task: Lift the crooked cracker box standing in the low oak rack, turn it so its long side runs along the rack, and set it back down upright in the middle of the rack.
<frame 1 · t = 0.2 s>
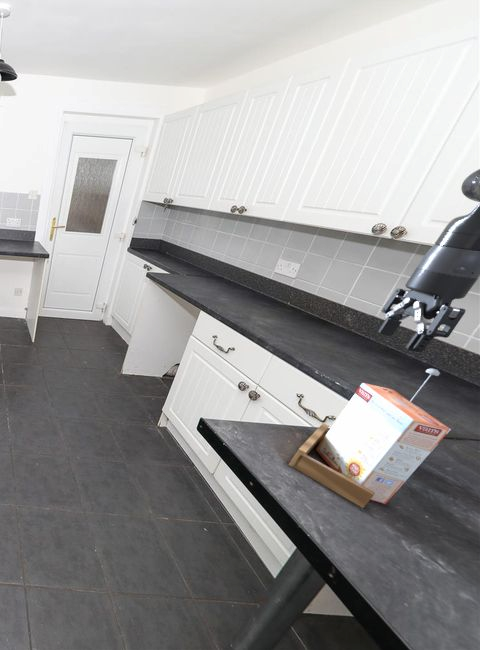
hand: (397, 342, 72), 31 cm above the table, tool pointing down, fingers open, 8 cm apart
french press: (366, 449, 86), on the table
cracker box: (347, 475, 76), on the table
rack: (347, 475, 76), on the table
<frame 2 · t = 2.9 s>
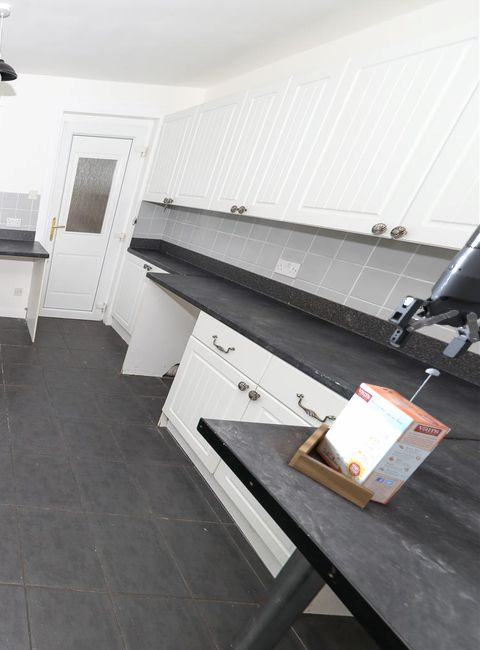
hand: (422, 351, 67), 32 cm above the table, tool pointing down, fingers open, 8 cm apart
nothing on the table moved.
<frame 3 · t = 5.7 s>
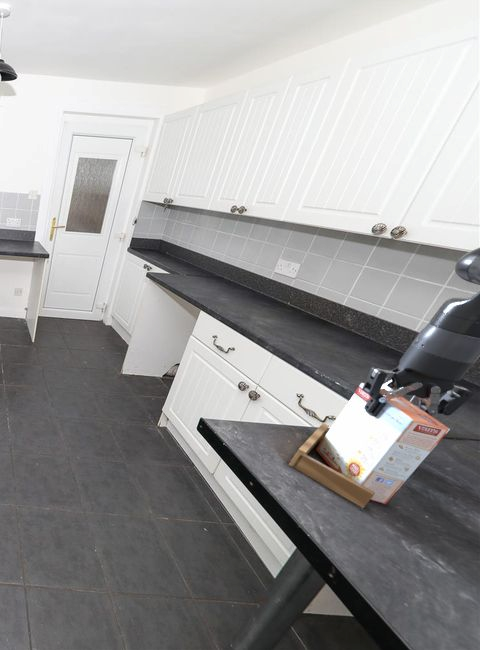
hand: (390, 419, 70), 17 cm above the table, tool pointing down, fingers closed on cracker box, 6 cm apart
cracker box: (347, 475, 76), on the table, touching gripper
everything else where it was.
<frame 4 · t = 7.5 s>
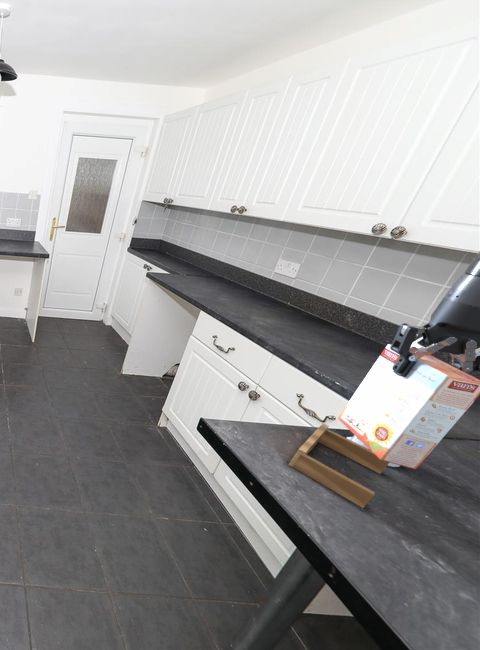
hand: (420, 379, 66), 27 cm above the table, tool pointing down, fingers closed on cracker box, 6 cm apart
cracker box: (372, 442, 73), point 10 cm above the table, touching gripper
everything else where it was.
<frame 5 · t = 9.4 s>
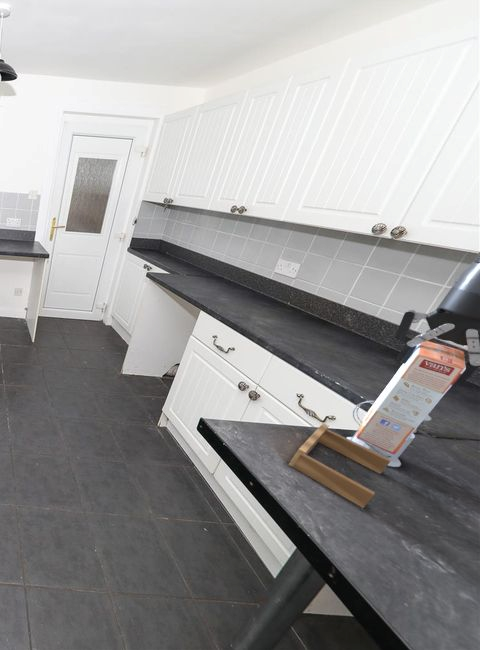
hand: (428, 370, 65), 29 cm above the table, tool pointing down, fingers closed on cracker box, 6 cm apart
cracker box: (378, 435, 72), point 12 cm above the table, touching gripper
everything else where it was.
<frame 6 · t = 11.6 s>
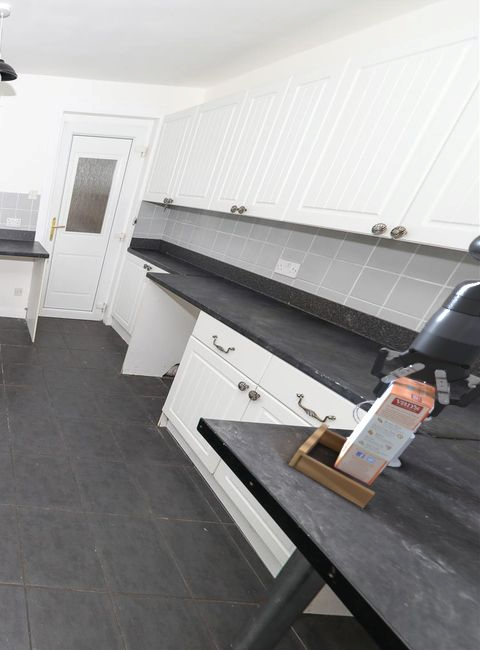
hand: (401, 405, 68), 20 cm above the table, tool pointing down, fingers closed on cracker box, 6 cm apart
cracker box: (356, 464, 75), point 3 cm above the table, touching gripper
everything else where it was.
when the fingers open (17 cm above the table, at t = 13.2 s): cracker box stays where it is, on the table.
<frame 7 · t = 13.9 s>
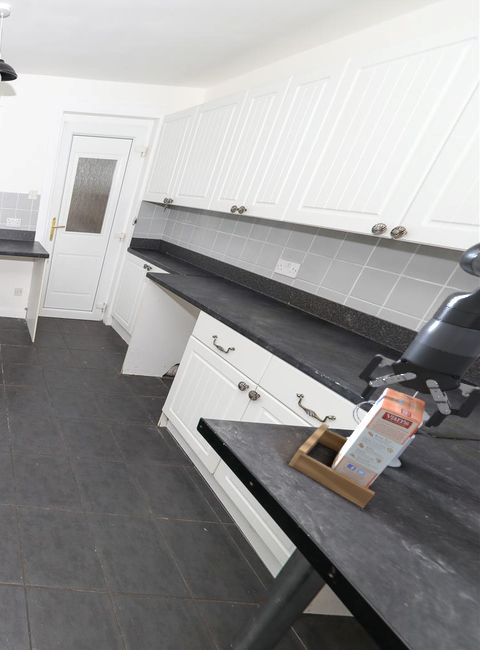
hand: (395, 412, 69), 18 cm above the table, tool pointing down, fingers open, 8 cm apart
cracker box: (347, 476, 76), on the table
everything else where it was.
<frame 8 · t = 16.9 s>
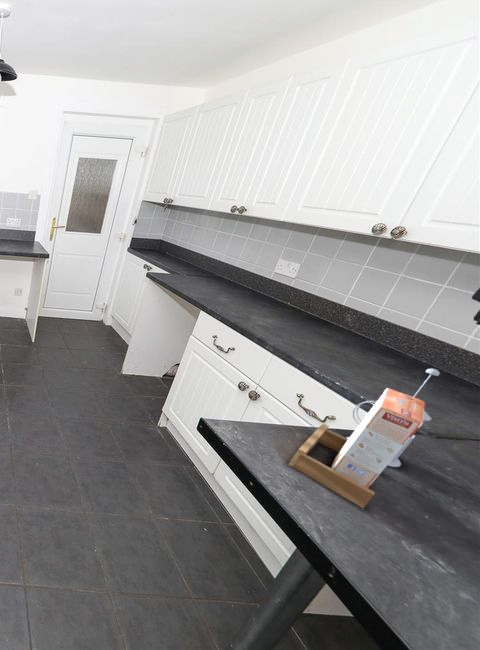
nothing on the table moved.
at the end: cracker box 0.1 cm off-centre on the rack, point 0.0 cm above the rack's base; cracker box tilted 0°; the gripper is holding nothing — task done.
